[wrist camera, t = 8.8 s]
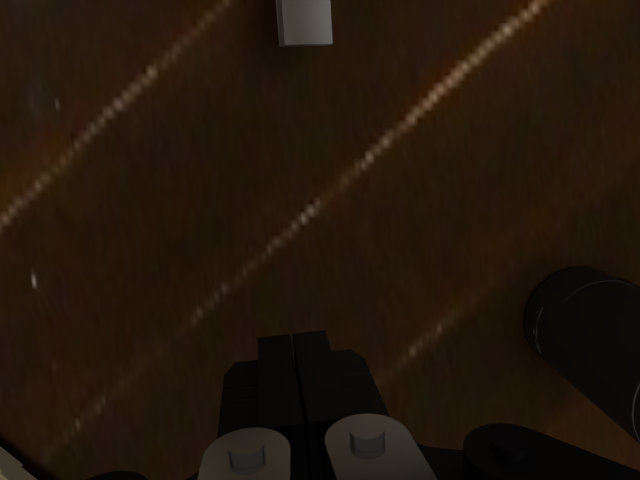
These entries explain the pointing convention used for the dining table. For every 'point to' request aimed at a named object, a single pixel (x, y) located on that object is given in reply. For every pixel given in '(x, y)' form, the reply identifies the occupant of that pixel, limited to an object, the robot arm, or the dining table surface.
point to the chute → (304, 23)
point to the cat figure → (12, 468)
